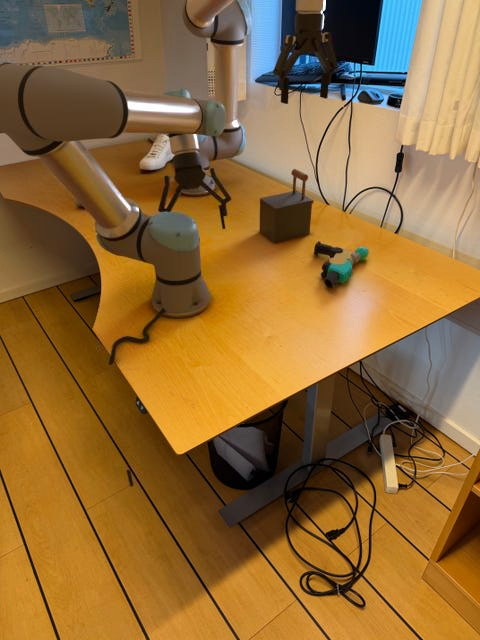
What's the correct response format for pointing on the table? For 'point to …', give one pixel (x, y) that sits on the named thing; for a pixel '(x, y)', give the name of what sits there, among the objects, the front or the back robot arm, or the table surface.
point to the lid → (289, 196)
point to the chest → (285, 222)
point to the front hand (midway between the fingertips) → (200, 232)
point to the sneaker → (158, 154)
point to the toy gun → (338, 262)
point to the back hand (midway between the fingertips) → (304, 100)
